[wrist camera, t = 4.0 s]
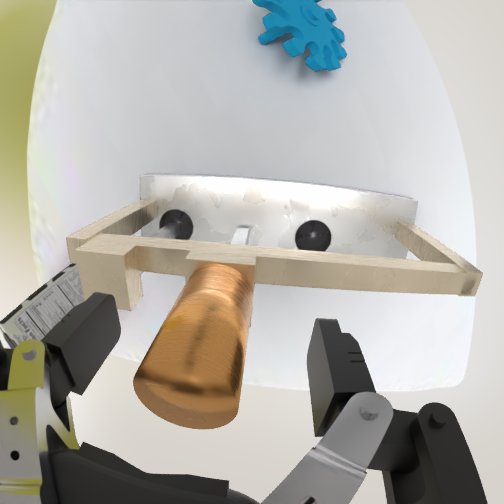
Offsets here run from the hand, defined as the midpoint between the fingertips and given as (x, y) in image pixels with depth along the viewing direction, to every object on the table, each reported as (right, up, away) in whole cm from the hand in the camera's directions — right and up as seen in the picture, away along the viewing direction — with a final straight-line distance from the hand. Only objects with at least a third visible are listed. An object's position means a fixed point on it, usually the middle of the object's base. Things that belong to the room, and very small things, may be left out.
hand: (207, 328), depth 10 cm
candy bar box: (-17, -1, +19) cm, 26 cm away
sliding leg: (+1, +5, +13) cm, 14 cm away
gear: (+6, +22, +9) cm, 25 cm away
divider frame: (+4, +5, +15) cm, 16 cm away
